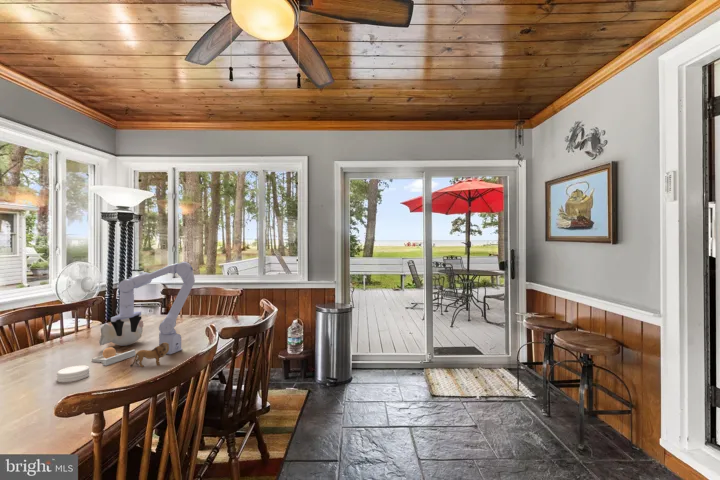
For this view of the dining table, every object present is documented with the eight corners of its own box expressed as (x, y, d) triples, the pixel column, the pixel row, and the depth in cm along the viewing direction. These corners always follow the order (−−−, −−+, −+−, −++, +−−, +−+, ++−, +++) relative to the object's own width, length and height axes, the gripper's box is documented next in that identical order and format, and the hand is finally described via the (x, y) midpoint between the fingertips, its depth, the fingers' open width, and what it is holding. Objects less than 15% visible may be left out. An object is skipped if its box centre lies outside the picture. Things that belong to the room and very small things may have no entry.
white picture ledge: (136, 355, 169) (136, 349, 169) (106, 365, 155) (106, 359, 155) (132, 354, 170) (132, 349, 170) (102, 365, 155) (102, 359, 155)
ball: (118, 357, 165) (118, 346, 165) (108, 360, 160) (108, 349, 160) (109, 356, 166) (110, 345, 166) (99, 359, 161) (99, 348, 162)
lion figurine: (169, 360, 162) (169, 340, 162) (169, 364, 157) (169, 343, 157) (130, 365, 155) (130, 344, 155) (129, 369, 150) (129, 348, 150)
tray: (125, 357, 166) (125, 354, 166) (107, 363, 158) (107, 360, 158) (110, 355, 169) (110, 352, 169) (91, 361, 160) (91, 358, 160)
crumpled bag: (144, 345, 185) (144, 316, 185) (98, 351, 174) (99, 320, 174) (142, 338, 198) (142, 311, 198) (100, 344, 188) (100, 315, 188)
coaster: (85, 371, 148) (85, 363, 148) (92, 377, 142) (92, 368, 142) (54, 378, 140) (54, 369, 140) (59, 385, 134) (60, 375, 134)
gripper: (133, 302, 178) (133, 329, 178) (105, 307, 164) (105, 337, 163) (144, 302, 176) (144, 330, 176) (117, 307, 162) (117, 338, 162)
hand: (126, 333), depth 169 cm, fingers open, 7 cm apart
